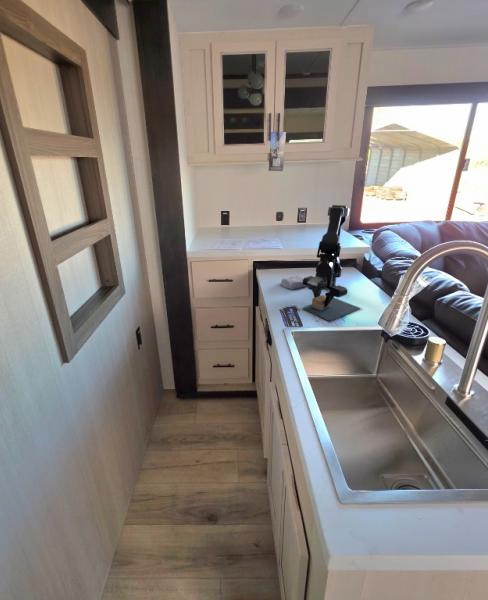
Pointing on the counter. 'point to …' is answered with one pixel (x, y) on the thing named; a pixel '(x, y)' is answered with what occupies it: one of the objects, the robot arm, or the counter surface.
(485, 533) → the counter surface
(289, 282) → the stone block
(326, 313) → the slate mat
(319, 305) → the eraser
